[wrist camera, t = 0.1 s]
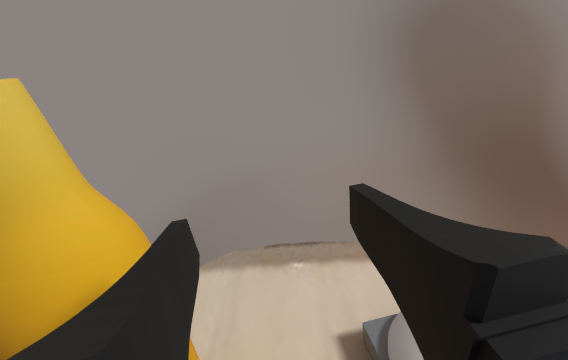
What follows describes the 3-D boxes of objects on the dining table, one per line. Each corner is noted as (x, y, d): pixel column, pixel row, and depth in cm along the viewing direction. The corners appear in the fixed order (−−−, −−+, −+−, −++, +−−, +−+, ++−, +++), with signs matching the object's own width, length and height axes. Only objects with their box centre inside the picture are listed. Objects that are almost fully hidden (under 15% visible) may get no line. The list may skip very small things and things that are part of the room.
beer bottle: (150, 371, 30) (-6, 85, 18) (232, 379, 28) (116, 63, 16) (79, 495, 22) (-291, 122, 10) (188, 519, 20) (-114, 87, 8)
